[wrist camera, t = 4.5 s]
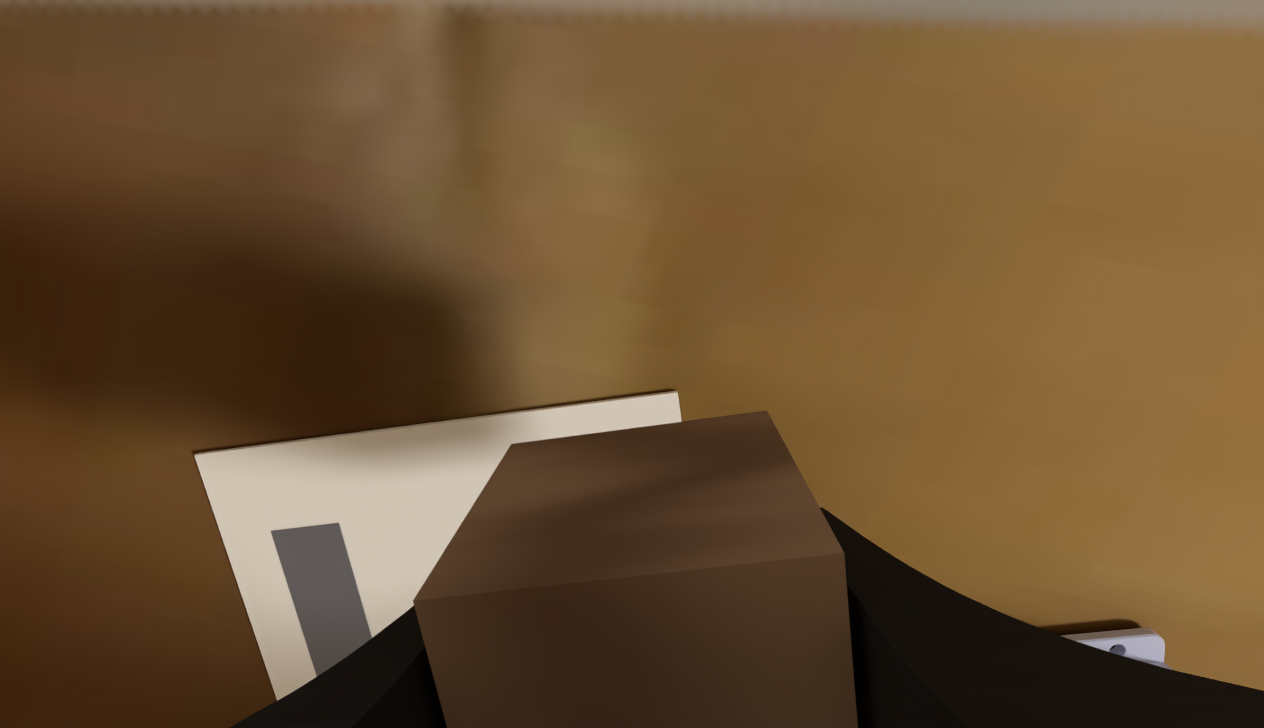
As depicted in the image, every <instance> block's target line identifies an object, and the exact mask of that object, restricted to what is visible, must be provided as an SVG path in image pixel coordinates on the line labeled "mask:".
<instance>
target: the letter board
mask: <svg viewBox="0 0 1264 728" xmlns="http://www.w3.org/2000/svg"><path fill="white" fill-rule="evenodd" d="M676 422H682V421H681V413H680V406H679V399H678V391H670V392H662V393H654V394H647V395H639V396H631V397H623V398H616V399H608V400H600V401H593V402H585V403H577V404H570V405H562V406H554V407H547V408H539V409H531V410H524V411H516V412H508V413H500V414H493V415H485V416H477V417H470V418H462V419H454V420H447V421H439V422H431V423H424V424H416V425H408V426H401V427H393V428H385V429H377V430H370V431H362V432H354V433H347V434H339V435H331V436H324V437H316V438H308V439H301V440H293V441H285V442H278V443H270V444H262V445H254V446H247V447H239V448H231V449H224V450H216V451H208V452H201V453H197V454H195V455H194V456H195V459H196V462H197V465H198V468H199V471H200V474H201V477H202V480H203V483H204V486H205V489H206V492H207V495H208V498H209V501H210V504H211V507H212V509H213V512H214V515H215V518H216V521H217V524H218V527H219V530H220V533H221V536H222V539H223V542H224V545H225V548H226V551H227V554H228V557H229V560H230V563H231V566H232V569H233V572H234V574H235V577H236V580H237V583H238V586H239V589H240V592H241V595H242V598H243V601H244V604H245V607H246V610H247V613H248V616H249V619H250V622H251V625H252V628H253V631H254V634H255V637H256V640H257V642H258V645H259V648H260V651H261V654H262V657H263V660H264V663H265V666H266V669H267V672H268V675H269V678H270V681H271V684H272V687H273V690H274V693H275V696H276V699H277V701H278V700H279V699H281V698H283V697H285V696H286V695H288V694H290V693H292V692H293V691H295V690H296V689H298V688H300V687H301V686H303V685H305V684H306V683H308V682H309V681H311V680H312V679H314V678H315V677H317V676H318V675H320V674H322V673H323V672H325V671H326V670H328V669H329V668H331V667H332V666H334V665H335V664H337V663H338V662H340V661H341V660H343V659H344V658H345V657H347V656H348V655H350V654H351V653H353V652H354V651H355V650H357V649H358V648H360V647H361V646H362V645H364V644H365V643H366V642H367V641H369V640H370V639H371V638H373V637H374V636H375V635H377V634H378V633H379V632H380V631H382V630H383V629H384V628H386V627H387V626H388V625H390V624H391V623H392V622H394V621H395V620H396V619H397V618H399V617H400V616H401V615H403V614H404V613H405V612H406V611H408V610H409V609H410V608H411V607H413V606H414V603H413V600H414V598H415V597H416V595H417V593H418V592H419V590H420V589H421V587H422V585H423V584H424V582H425V581H426V579H427V578H428V576H429V574H430V573H431V571H432V570H433V568H434V566H435V565H436V563H437V562H438V560H439V558H440V557H441V555H442V554H443V552H444V550H445V549H446V547H447V546H448V544H449V542H450V541H451V539H452V538H453V536H454V534H455V533H456V531H457V530H458V528H459V527H460V525H461V523H462V522H463V520H464V519H465V517H466V515H467V514H468V512H469V511H470V509H471V507H472V506H473V504H474V503H475V501H476V499H477V498H478V496H479V495H480V493H481V491H482V490H483V488H484V487H485V485H486V483H487V482H488V480H489V479H490V477H491V475H492V474H493V472H494V471H495V469H496V468H497V466H498V464H499V463H500V461H501V460H502V458H503V456H504V455H505V453H506V452H507V450H508V448H509V447H510V445H511V444H514V443H522V442H530V441H537V440H545V439H553V438H561V437H568V436H576V435H584V434H591V433H599V432H607V431H614V430H622V429H630V428H637V427H645V426H653V425H661V424H668V423H676Z"/></svg>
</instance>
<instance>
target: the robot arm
mask: <svg viewBox="0 0 1264 728" xmlns="http://www.w3.org/2000/svg"><path fill="white" fill-rule="evenodd" d="M820 509H821V511H822V513H823V515H824V517H825V518H826V520H827V522H828V524H829V526H830V528H831V529H832V531H833V533H834V535H835V537H836V539H837V540H838V542H839V544H840V546H841V548H842V550H843V551H844V557H845V569H846V582H847V595H848V608H849V621H850V633H851V646H852V659H853V672H854V685H855V698H856V710H857V723H858V728H1264V691H1262V690H1257V689H1253V688H1249V687H1244V686H1240V685H1235V684H1231V683H1227V682H1222V681H1218V680H1213V679H1209V678H1205V677H1200V676H1196V675H1191V674H1187V673H1183V672H1178V671H1174V670H1172V669H1171V668H1170V667H1169V666H1168V665H1167V664H1166V663H1164V652H1165V644H1164V640H1163V639H1162V638H1161V637H1160V636H1159V635H1158V634H1157V633H1156V632H1154V631H1153V630H1151V629H1149V628H1136V629H1125V630H1114V631H1104V632H1093V633H1082V634H1072V635H1061V636H1060V635H1057V634H1055V633H1052V632H1049V631H1046V630H1044V629H1041V628H1038V627H1036V626H1033V625H1030V624H1028V623H1025V622H1022V621H1020V620H1018V619H1015V618H1013V617H1010V616H1008V615H1005V614H1003V613H1001V612H998V611H996V610H994V609H992V608H990V607H987V606H985V605H983V604H981V603H979V602H977V601H975V600H972V599H970V598H968V597H966V596H964V595H962V594H959V593H958V592H956V591H954V590H952V589H950V588H948V587H946V586H944V585H942V584H940V583H938V582H937V581H935V580H933V579H931V578H929V577H928V576H926V575H924V574H922V573H921V572H919V571H917V570H915V569H913V568H912V567H910V566H908V565H907V564H905V563H903V562H902V561H900V560H899V559H897V558H895V557H894V556H892V555H891V554H889V553H887V552H886V551H884V550H883V549H881V548H880V547H878V546H877V545H875V544H874V543H872V542H871V541H869V540H868V539H866V538H865V537H863V536H862V535H860V534H859V533H858V532H856V531H855V530H853V529H852V528H851V527H849V526H848V525H846V524H845V523H843V522H842V521H841V520H839V519H838V518H837V517H835V516H834V515H832V514H831V513H829V512H828V511H827V510H825V509H824V508H822V507H821V508H820ZM1113 645H1116V646H1115V647H1114V648H1113V649H1110V648H1111V647H1112V646H1113ZM230 728H447V726H446V722H445V718H444V715H443V711H442V707H441V703H440V700H439V696H438V692H437V689H436V685H435V681H434V677H433V674H432V670H431V666H430V663H429V659H428V655H427V651H426V648H425V644H424V640H423V636H422V633H421V629H420V625H419V622H418V618H417V614H416V610H415V607H414V606H413V607H411V608H410V609H409V610H408V611H406V612H405V613H404V614H403V615H401V616H400V617H399V618H397V619H396V620H395V621H394V622H392V623H391V624H390V625H388V626H387V627H386V628H384V629H383V630H382V631H380V632H379V633H378V634H377V635H375V636H374V637H373V638H371V639H370V640H369V641H367V642H366V643H365V644H364V645H362V646H361V647H360V648H358V649H357V650H355V651H354V652H353V653H351V654H350V655H348V656H347V657H345V658H344V659H343V660H341V661H340V662H338V663H337V664H335V665H334V666H332V667H331V668H329V669H328V670H326V671H325V672H323V673H322V674H320V675H318V676H317V677H315V678H314V679H312V680H311V681H309V682H308V683H306V684H305V685H303V686H301V687H300V688H298V689H296V690H295V691H293V692H292V693H290V694H288V695H286V696H285V697H283V698H281V699H279V700H278V701H276V702H274V703H272V704H270V705H269V706H267V707H265V708H263V709H262V710H260V711H258V712H256V713H255V714H253V715H251V716H249V717H247V718H246V719H244V720H242V721H240V722H239V723H237V724H235V725H233V726H232V727H230Z"/></svg>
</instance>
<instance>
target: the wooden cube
mask: <svg viewBox="0 0 1264 728" xmlns="http://www.w3.org/2000/svg"><path fill="white" fill-rule="evenodd" d="M413 603H414V607H415V610H416V614H417V618H418V622H419V625H420V629H421V633H422V636H423V640H424V644H425V648H426V651H427V655H428V659H429V663H430V666H431V670H432V674H433V677H434V681H435V685H436V689H437V692H438V696H439V700H440V703H441V707H442V711H443V715H444V718H445V722H446V726H447V728H858V723H857V710H856V698H855V685H854V672H853V659H852V646H851V633H850V621H849V608H848V595H847V582H846V569H845V557H844V551H843V550H842V548H841V546H840V544H839V542H838V540H837V539H836V537H835V535H834V533H833V531H832V529H831V528H830V526H829V524H828V522H827V520H826V518H825V517H824V515H823V513H822V511H821V509H820V507H819V506H818V504H817V502H816V500H815V498H814V496H813V495H812V493H811V491H810V489H809V487H808V485H807V484H806V482H805V480H804V478H803V476H802V474H801V473H800V471H799V469H798V467H797V465H796V463H795V462H794V460H793V458H792V456H791V454H790V452H789V451H788V449H787V447H786V445H785V443H784V441H783V440H782V438H781V436H780V434H779V432H778V430H777V429H776V427H775V425H774V423H773V421H772V419H771V418H770V416H769V414H768V412H767V411H761V412H753V413H745V414H737V415H730V416H722V417H714V418H707V419H699V420H691V421H684V422H676V423H668V424H661V425H653V426H645V427H637V428H630V429H622V430H614V431H607V432H599V433H591V434H584V435H576V436H568V437H561V438H553V439H545V440H537V441H530V442H522V443H514V444H511V445H510V447H509V448H508V450H507V452H506V453H505V455H504V456H503V458H502V460H501V461H500V463H499V464H498V466H497V468H496V469H495V471H494V472H493V474H492V475H491V477H490V479H489V480H488V482H487V483H486V485H485V487H484V488H483V490H482V491H481V493H480V495H479V496H478V498H477V499H476V501H475V503H474V504H473V506H472V507H471V509H470V511H469V512H468V514H467V515H466V517H465V519H464V520H463V522H462V523H461V525H460V527H459V528H458V530H457V531H456V533H455V534H454V536H453V538H452V539H451V541H450V542H449V544H448V546H447V547H446V549H445V550H444V552H443V554H442V555H441V557H440V558H439V560H438V562H437V563H436V565H435V566H434V568H433V570H432V571H431V573H430V574H429V576H428V578H427V579H426V581H425V582H424V584H423V585H422V587H421V589H420V590H419V592H418V593H417V595H416V597H415V598H414V600H413Z"/></svg>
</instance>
